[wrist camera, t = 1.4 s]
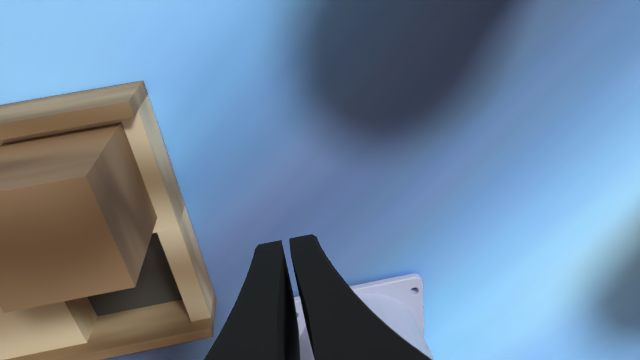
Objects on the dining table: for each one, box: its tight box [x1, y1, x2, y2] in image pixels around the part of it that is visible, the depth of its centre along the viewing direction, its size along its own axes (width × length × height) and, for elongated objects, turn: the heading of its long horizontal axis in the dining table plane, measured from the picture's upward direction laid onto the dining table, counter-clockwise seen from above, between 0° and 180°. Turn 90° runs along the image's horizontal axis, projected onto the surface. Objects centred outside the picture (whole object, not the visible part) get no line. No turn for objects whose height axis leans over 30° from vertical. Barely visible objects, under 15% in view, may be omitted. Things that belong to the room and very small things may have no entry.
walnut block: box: [0, 122, 157, 313], centre depth 17 cm, size 4×4×4 cm
